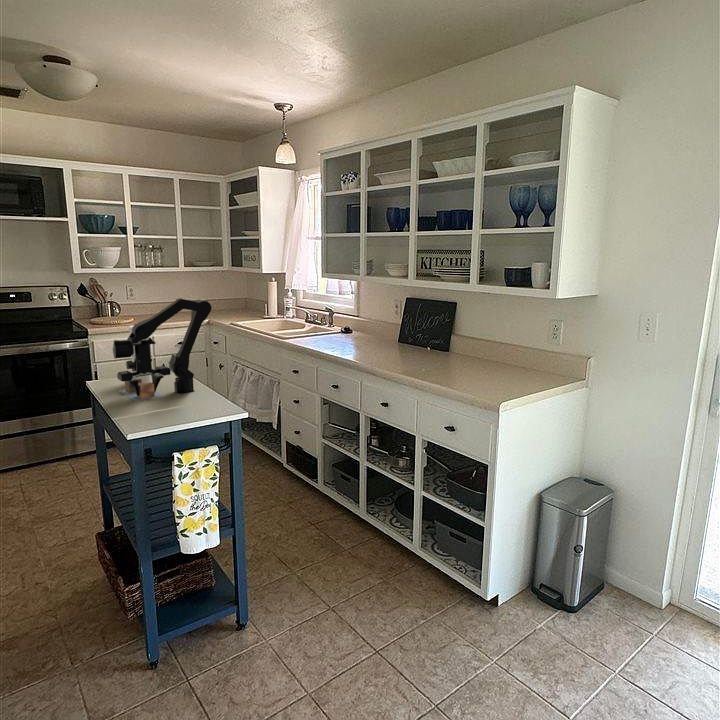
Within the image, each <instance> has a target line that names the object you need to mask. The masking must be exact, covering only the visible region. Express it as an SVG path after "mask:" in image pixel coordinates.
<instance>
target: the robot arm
mask: <svg viewBox="0 0 720 720" xmlns="http://www.w3.org/2000/svg"><path fill="white" fill-rule="evenodd" d="M212 309H213V308H212V305H211V303H210V302H209V301H207V300H204V299H197V300H191V299H186V298H181V297H179V298H176V299H175V301H173V302H172V303H170V304H169V305H167V306H166V307H165V308H163V309H162V310H160V311H159V312H157V313H155V315H153V316H152V317H149V318H147V319H146V318H145V319H144V320H142V321H140V322H137V323H135V324H133V325H134V326H133V325H132V326H133V328H132V333H131V334H130V333H129V336H128V337H127V339H123V340H121V339H120V340H118V339H116V340H113V347H112V354H113V358H114V359H116V360H117V359H125V358H132V355H133V354H134V348H133V346H134V347H135V358H134V362H132V360H127V361H126V362H125V365H126V369H127V370H124V371H123V370H121V371H118V373H117V374H116V375H117V376H116V377H117V378H116V379H117V380H118V381H120V382H123V383H125V381H128V382H130V383H131V385H132V386H133V388H134V390H135V393H136V395H137V396H139V387H138V380H136V377H139V376H146V375H151V383H153V384H154V393H155V391H157V388H158V386H159V384H160V383H161V380H162V379H163V378H164V377H165V376H169V375H171V373H172V374H174V376H175V378H174V379H175V381H174V383H173V385H174V392H175V393H176V394H180V395H183V394H189V393H195V392H196V390H194V376H195V374H194V372H193V371H190V370H189V367H190V355H191V352H192V350H193V348H194V345H195V342H196V340H197V337H198V335H199V332H200V329H201V326H202V324H203V323H204V322H205V320H206V319H207V318H208V316H209V315H210V313H211V312H212ZM183 310H188V311H191V314H190V315H191V316H190V317H191V318H190V322H189V324H188V327H187V328H186V329H187V330H186V332H185V334H184V336H183V340H182V342H181V345H180V347H179V349H178V352H177V353H176V354H173V353H172V354H171V358H170V360H169V361H168V364H169V365H168V366H165V365H160V366H155V369H153V366H152V365H153V363H152V362H153V358H152V351H151V350H152V349H151V345H156V341H154V339H152V337H151V336H152V335H153V334H154V333H155V332H156V330H157V329H158V328H159V326H161V325H163V324H164V323H165V322H167V321H168V320H169V319H172V317H174V316H175V315H176V314H178V313H179V312H181V311H183ZM147 338H148V339H147ZM145 339H147V340H145ZM129 370H131V371H132V372H131V371H129ZM133 371H136V372H133Z"/></svg>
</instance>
